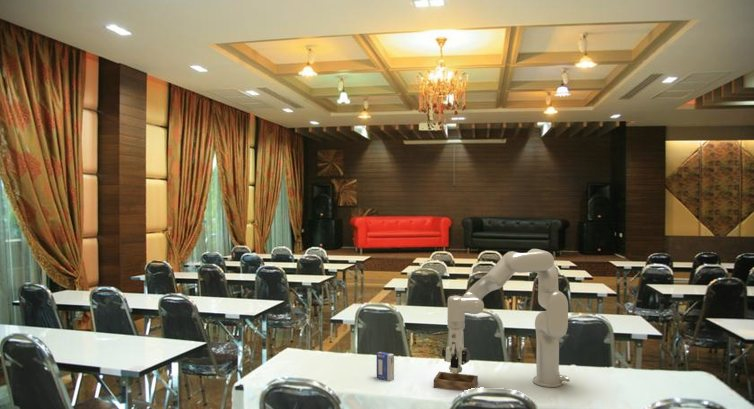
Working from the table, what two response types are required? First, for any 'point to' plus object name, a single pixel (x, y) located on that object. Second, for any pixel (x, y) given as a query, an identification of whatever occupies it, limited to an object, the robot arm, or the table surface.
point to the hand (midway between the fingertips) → (455, 365)
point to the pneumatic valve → (462, 358)
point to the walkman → (385, 366)
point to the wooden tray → (455, 381)
